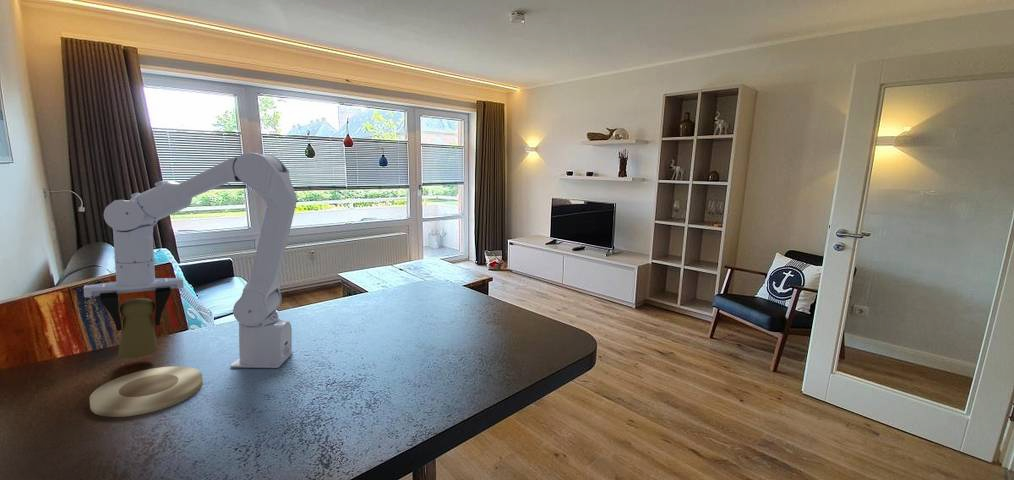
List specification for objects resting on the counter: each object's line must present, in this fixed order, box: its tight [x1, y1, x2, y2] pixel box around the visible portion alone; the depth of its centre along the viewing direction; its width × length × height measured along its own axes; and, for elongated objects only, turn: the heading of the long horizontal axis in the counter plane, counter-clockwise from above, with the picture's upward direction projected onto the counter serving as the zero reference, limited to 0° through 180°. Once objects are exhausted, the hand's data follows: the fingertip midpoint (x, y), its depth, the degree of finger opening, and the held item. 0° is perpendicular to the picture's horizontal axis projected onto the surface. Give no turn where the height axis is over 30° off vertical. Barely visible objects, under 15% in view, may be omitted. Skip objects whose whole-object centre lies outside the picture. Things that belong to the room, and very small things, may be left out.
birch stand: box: [88, 365, 203, 418], centre depth 72 cm, size 15×15×2 cm
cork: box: [117, 297, 159, 359], centre depth 82 cm, size 6×6×11 cm
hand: (138, 326), depth 82 cm, fingers closed on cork, 5 cm apart
